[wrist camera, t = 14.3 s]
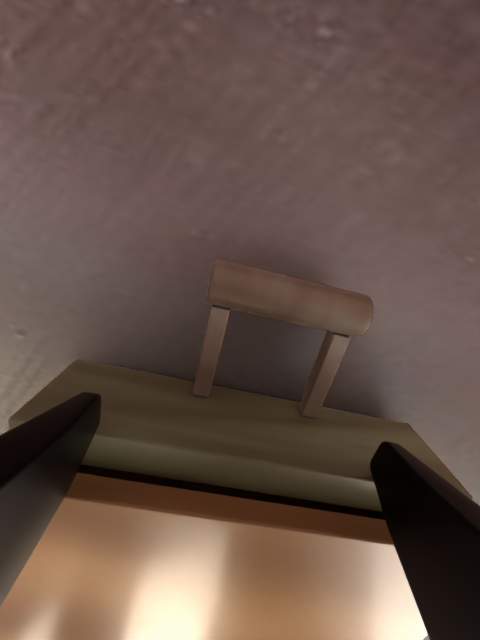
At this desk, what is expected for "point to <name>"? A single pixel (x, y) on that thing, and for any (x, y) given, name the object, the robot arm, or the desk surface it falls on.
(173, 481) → the drawer
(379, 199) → the desk surface
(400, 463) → the robot arm
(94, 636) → the cabinet
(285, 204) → the desk surface
